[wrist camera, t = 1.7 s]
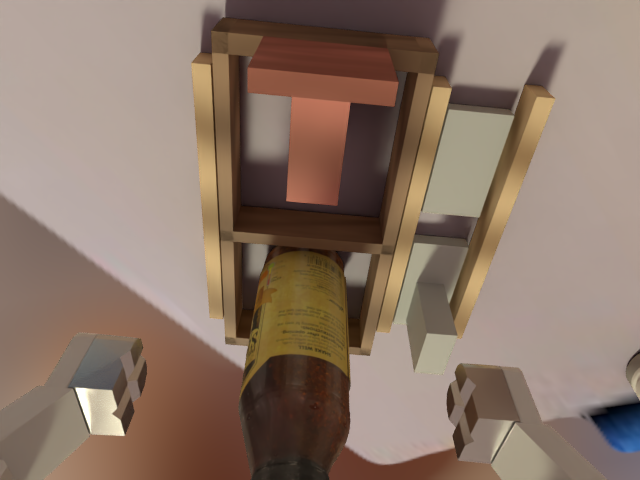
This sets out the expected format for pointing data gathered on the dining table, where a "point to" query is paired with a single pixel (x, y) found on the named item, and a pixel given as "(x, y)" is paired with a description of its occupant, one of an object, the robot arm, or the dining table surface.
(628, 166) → the dining table surface
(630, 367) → the travel mug
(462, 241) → the broken grey strip
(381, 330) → the oak lane rails
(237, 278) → the wooden condiment caddy
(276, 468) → the sauce bottle
